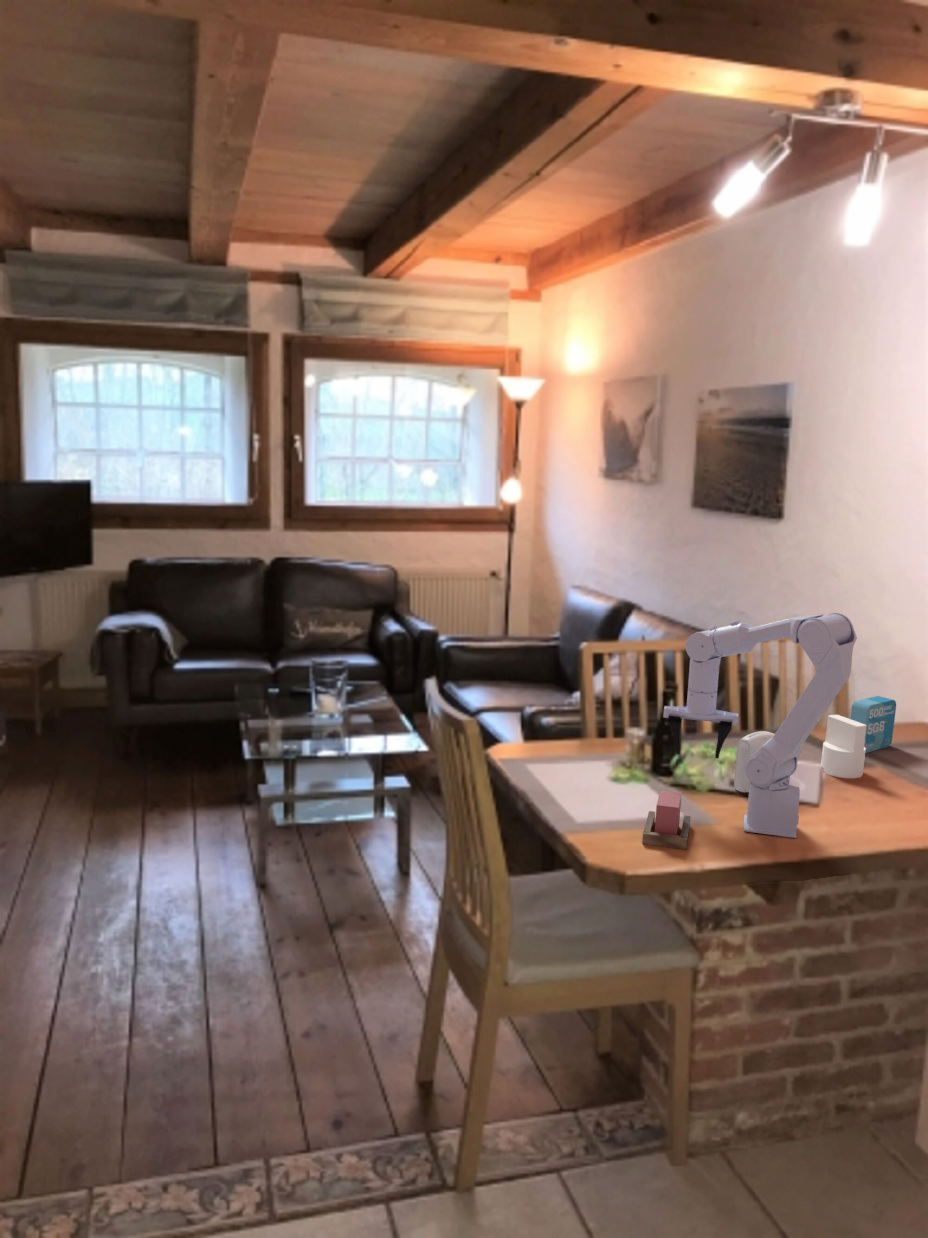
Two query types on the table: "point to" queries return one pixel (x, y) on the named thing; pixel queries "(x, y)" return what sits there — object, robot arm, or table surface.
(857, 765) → the cylinder with rectangular tab
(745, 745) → the photo printer
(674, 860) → the table surface
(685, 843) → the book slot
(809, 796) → the table surface
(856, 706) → the data package
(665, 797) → the dull red block
